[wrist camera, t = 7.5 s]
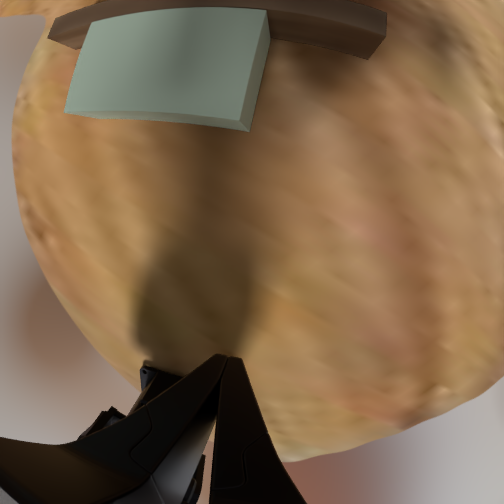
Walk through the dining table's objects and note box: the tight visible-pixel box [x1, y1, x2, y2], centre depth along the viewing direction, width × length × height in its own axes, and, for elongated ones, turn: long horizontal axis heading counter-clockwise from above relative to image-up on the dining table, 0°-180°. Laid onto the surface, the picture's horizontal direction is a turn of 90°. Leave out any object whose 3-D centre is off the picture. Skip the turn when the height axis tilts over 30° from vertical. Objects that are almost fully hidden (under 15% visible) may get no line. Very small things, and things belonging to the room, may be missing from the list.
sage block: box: [64, 7, 271, 132], centre depth 14 cm, size 7×12×4 cm, turn 78°
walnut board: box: [48, 0, 387, 60], centre depth 12 cm, size 2×24×4 cm, turn 79°
